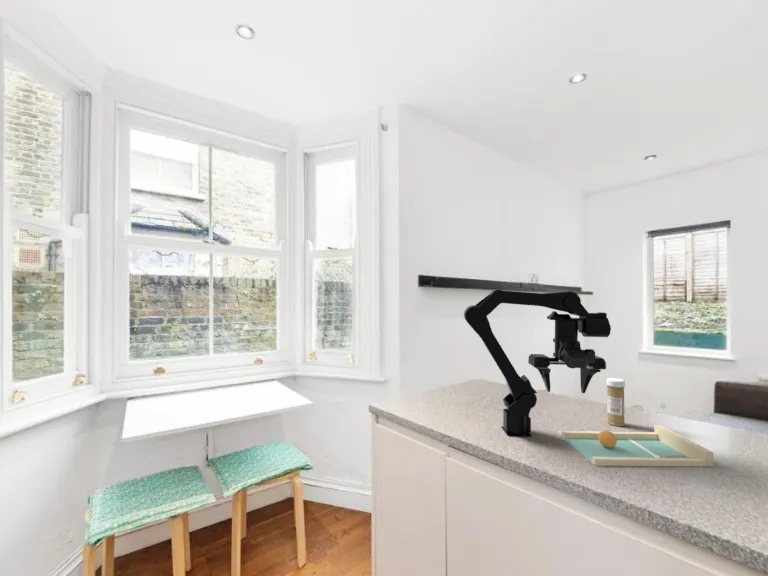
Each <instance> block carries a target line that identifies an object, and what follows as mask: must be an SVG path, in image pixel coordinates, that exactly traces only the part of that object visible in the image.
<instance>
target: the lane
mask: <svg viewBox="0 0 768 576" xmlns="http://www.w3.org/2000/svg"><path fill="white" fill-rule="evenodd" d="M653 428H654V429H653V431H651V432H650V431H647V432H645V431H611V432H612V433H613V434H614V435H615V436H616V439H617V443H616V445H615V446H614V447H612V448H607V447H604V446H603V445H602V444H601V443H600V442H599V440H598V435H599V433H600V432H601V431H593V430H592V431H590V430H589V431H586V430H585V431H583V430H582V431H581V430H580V431H579V430H576V431H575V430H574V431H573V430H572V431H571V430H570V431H569V430H562V431H561V439H563V440H564V442H566V443H567V444H568V445H569V446H571V447H572V448H573V449H575V451H577V452H578V453H579V454H580V455H581V456H582V457H584V458H585V459H587V461H589V462H590V463H591V464H592V465H594V466H598V467H599V466H602V467H603V466H604V467H608V466H610V467H611V466H612V467H619V466H624V467H627V466H628V467H629V466H630V467H714V451H712V450H710V449H708V448H707V447H704V446H702V445H700V444H699V443H696V442H694V441H693V440H691V439H689V438H686V437H685V436H682V435H681V434H679V433H677V432H675V431H673V430H671V429H669V428H667V427H665V426H663V425H661V424H654V425H653ZM563 440H562V441H563ZM680 454H682V455H684V456H686V457H672V456H677V455H680ZM657 455H658V456H659V457H660V458H659V457H657ZM654 456H656V457H654Z"/></svg>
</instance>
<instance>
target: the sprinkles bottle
mask: <svg viewBox="0 0 768 576" xmlns="http://www.w3.org/2000/svg"><path fill="white" fill-rule="evenodd" d="M625 386H626V383H625V380H624V379H622V378H618V377H617V378H616V377H608V378H606V388H607V389H606V390H607V391H606V392H607V393H606V401H607V402H606V406H607V407H606V411H607V419H606V422H607V423H608V424H609V425H612V426H614V427H624V426H625V425H626V422H625V413H626V412H625V408H626V407H625Z"/></svg>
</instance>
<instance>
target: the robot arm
mask: <svg viewBox="0 0 768 576" xmlns="http://www.w3.org/2000/svg"><path fill="white" fill-rule="evenodd" d="M581 301H582V300H581V297H580V296H579V294H577V292H574V291H565V290H564V291H554V292H553V291H551V292H543V293H542V292H540V293H538V292H529V291H528V292H526V291H510V290H502V289H493V290H492V291H491V292H490V293H489V294H488V295H487V296H485V297H484V298H483V299H481V300H480V301H479V302H477V303H476V304H475V305H474V304H473V305H469V306H467V307H466V308H465V310H464V311H463V312H464V313H463V317H464V320H465V321H466V323H467V324H468V325H469V326H470V328H471V329H473V331H474V332H475V333H476V335H478V337H479V338H480V339H481V341H482V342H483V344H484V345H485V347H486V349H487V351H488V352H489V354H490V356H491V357H492V359H493V361H494V363H495V364H496V366H497V367H498V369H499V370H500V372H501V374H502V375H503V377H504V379H505V383H506V386H507V388H508V390H509V393H508V394H507V395H506V396H504V397H503V399H502V402H503V404H504V406H505V407H506V408H503V409H502V411H503V412H502V413H503V417H502V418H503V421H502V423H503V425H502V426H501V429H502V431H503V432H504V433H505V435H507V437H517V438H518V437H519V438H520V437H523V438H526V437H527V438H532V434H531V432H532V418H531V417H530V412H531V410H532V409H533V408H534V407H535V406H536V404H537V400H538V397H537V395H536V394H538V392H537V391H536V390H535V388H534V387H533V386H532V383H531V381H530V379H529V378H528V377H527V376H526V375H525V374H523V375H522V376H520V375H519V374H518V372H517V370H516V369H515V367H514V365H513V364H512V362H511V360H510V359H509V357H508V356H507V354H506V352H505V351H504V350H503V347H502V346H501V344H500V342H499V341H498V339H497V338H496V335H495V334H494V333H493V331H492V327H491V323H490V322H489V319H488V316H489V315H490V314H491V313H492V312H493V311H494V310H495V309H496V308H497V307H498V306H499V305H501V304H510V305H521V306H533V307H535V306H536V307H543V308H547V309H552V310H553V311H552V312H551V313H550V314H549V315H547V316H546V319H547V320H551V321H554V338H553V339H552V342H553V343H554V352H552V356H553V357H549V356H547V355H545V354H543V353H541V354H540V353H531V354H529V355H528V358H527V359H528V361H527V362H528V365H531V366H532V367H534V368H535V369H537V370H538V372H539V374H540V376H541V379H542V381H543V383H544V387H545V388H546V391H547V392H548V393H550V392H551V377H550V374H551V368H549V366H551V365H558V366H559V365H561V366H564V365H566V366H567V367H568V368H570V369H580V372H579V373H580V390H581V394H585V393H586V392H587V388H588V387H589V385H590V382H591V380H592V378H593V376H595V375H596V374H597V373H601V371H602V370H607V362H606V360H605V358H603V357H600V356H598V355H596V351H595V350H594V349H592V348H586V349H582V347H581V341H579V340H578V339H579V337H578V336H579V334H581V335H582V337H585V338H609V336H610V334H611V329H612V327H611V324H610V321H609V318H608V315H607V312H602V311H601V312H589V311H588V310H587V309H586V308H585V306H583V304H582V302H581ZM557 311H558V312H564V313H558V312H557ZM571 315H573V316H578V317H572V316H571Z"/></svg>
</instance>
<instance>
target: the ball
mask: <svg viewBox="0 0 768 576" xmlns="http://www.w3.org/2000/svg"><path fill="white" fill-rule="evenodd" d="M599 432H600V433H599V435H598V440H599V442H600V443H601V444H602V445H603V446H604V447H607V448H612V447H614V446H615V445H616V443H617V439H616V436H615V435H614V434H613V433H612V432H613V431H610V430H602V431H599Z"/></svg>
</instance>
